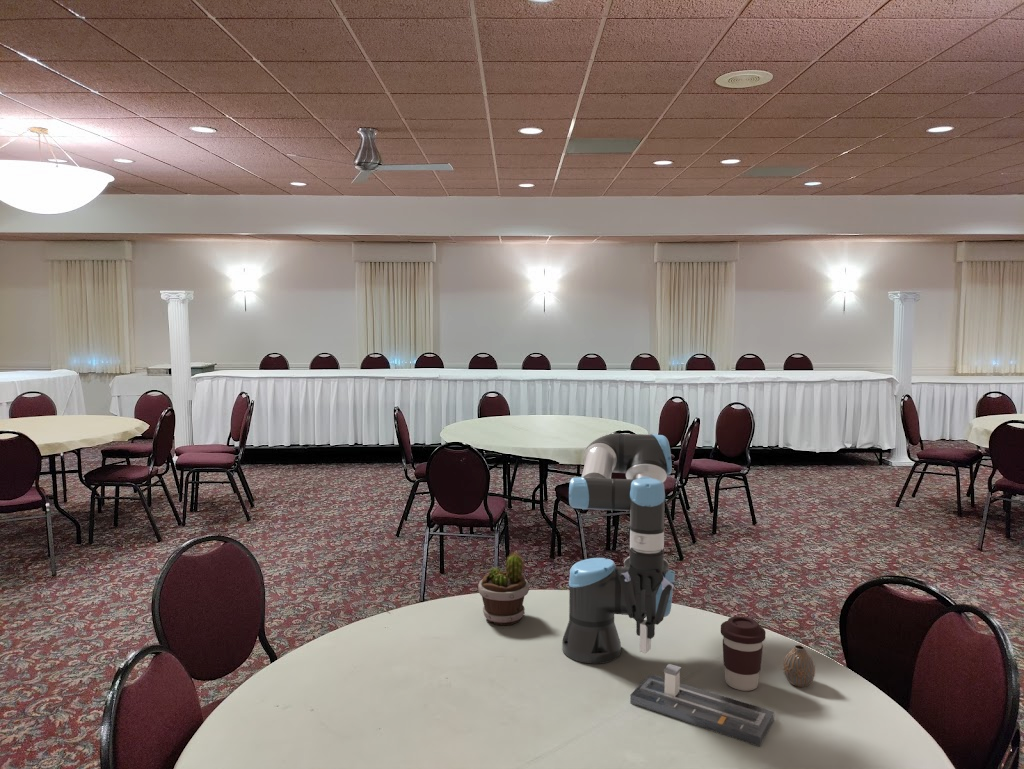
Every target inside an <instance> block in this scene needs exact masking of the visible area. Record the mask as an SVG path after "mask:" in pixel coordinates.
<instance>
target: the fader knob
mask: <svg viewBox="0 0 1024 769" xmlns="http://www.w3.org/2000/svg"><path fill="white" fill-rule="evenodd" d="M681 671H682V667H681V666H679V665H674V664H672V663H668V664H667V665H666V667H664V669H663V673H664V678H665V691H664V694H668V695H671V696H674V697H675V696H676V695H677V694H678V693H679V688H680V683H681V682H680V676H681Z"/></svg>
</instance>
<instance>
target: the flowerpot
mask: <svg viewBox="0 0 1024 769" xmlns="http://www.w3.org/2000/svg"><path fill="white" fill-rule="evenodd" d="M516 552H517V549H515V550H514V552H513V551H511V553H509V556H507V557H506V559H505V561H504V562H503V563H505V565H506V567H504V568H503V569H504V571H503V569H502V570H501V568H499V567H498V566H496V567H495V566H493V567H492V569H490V570H489V573H488V574H485V575H484V576H483V577H482V579H481V580H480V581H479V582H478V584H477V586H478V587H477V588H478V593H479V594H480V596H481V598H482V602H483V607H482V612H483V616H484V618H486V620H487V622H488V623H494V625H495V626H496V625H497V626H499V625H500V626H508V625H509V626H511V625H514V624H516V623H519V621H520V620H521V618H523V616H524V615H525V610H526V609H525V606H524V605H523V604H524V600H525V596H527V595H528V593H529V591H530V590H531V589H530V586H529V582H528V580H526V578H525V577H524V576H525V575H524V571H523V570H525V569H526V568H525V560H524V558H523V556H520V554H519V553H516Z"/></svg>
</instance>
